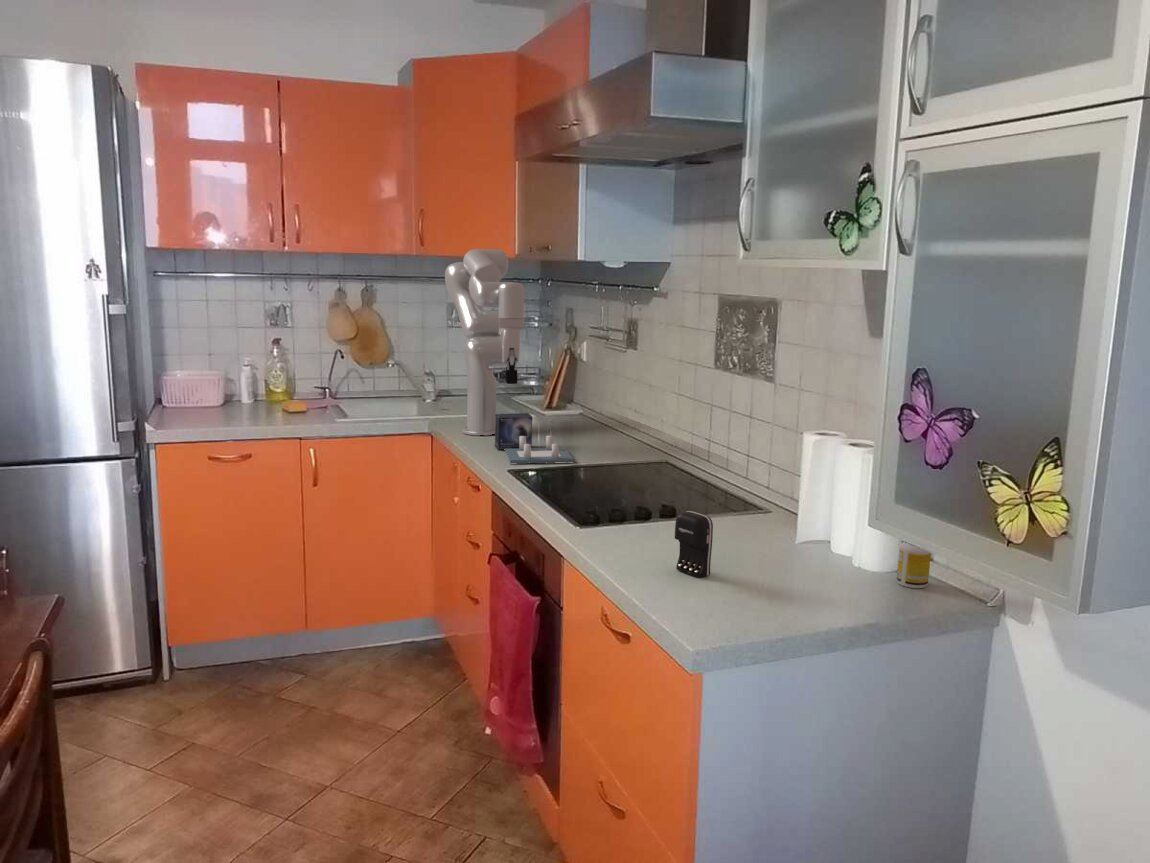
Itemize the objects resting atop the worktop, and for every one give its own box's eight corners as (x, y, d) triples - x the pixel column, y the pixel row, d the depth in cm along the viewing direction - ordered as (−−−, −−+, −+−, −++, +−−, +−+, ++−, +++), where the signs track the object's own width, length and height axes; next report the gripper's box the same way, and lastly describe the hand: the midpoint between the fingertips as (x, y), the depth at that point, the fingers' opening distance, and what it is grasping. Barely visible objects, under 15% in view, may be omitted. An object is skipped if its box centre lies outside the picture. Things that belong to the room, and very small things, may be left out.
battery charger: (670, 570, 171) (672, 511, 169) (684, 566, 173) (686, 508, 171) (697, 580, 166) (700, 520, 163) (711, 576, 168) (714, 516, 166)
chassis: (505, 452, 271) (505, 435, 270) (564, 451, 274) (565, 434, 273) (510, 464, 255) (510, 446, 254) (573, 463, 258) (573, 445, 257)
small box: (498, 451, 273) (498, 416, 271) (494, 446, 279) (494, 413, 277) (532, 450, 275) (533, 416, 274) (527, 445, 282) (528, 412, 280)
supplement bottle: (934, 586, 165) (939, 534, 163) (914, 591, 162) (919, 538, 161) (910, 577, 170) (914, 526, 168) (889, 581, 167) (894, 530, 165)
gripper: (498, 323, 278) (498, 378, 281) (498, 325, 261) (499, 385, 264) (523, 323, 279) (523, 378, 282) (524, 325, 262) (524, 385, 265)
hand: (511, 381), depth 273 cm, fingers open, 9 cm apart
